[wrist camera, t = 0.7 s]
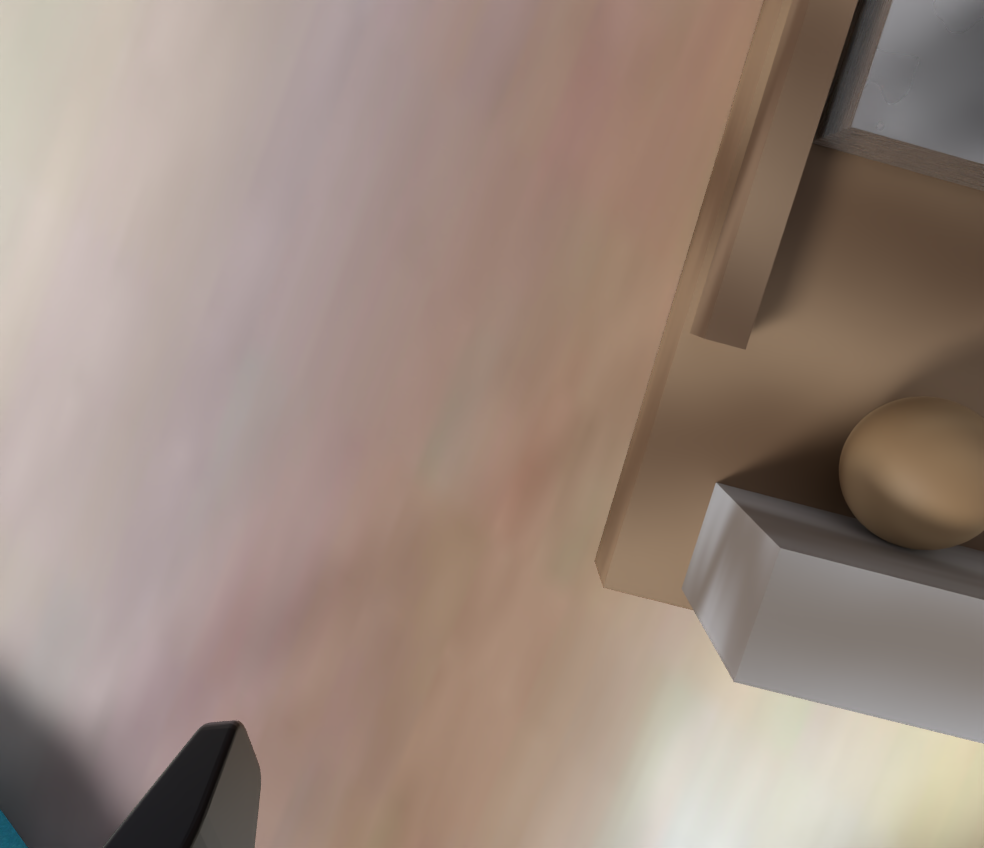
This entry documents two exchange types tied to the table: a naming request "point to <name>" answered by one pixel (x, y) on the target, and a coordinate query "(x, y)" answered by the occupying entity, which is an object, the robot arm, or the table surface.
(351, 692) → the table surface
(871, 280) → the board
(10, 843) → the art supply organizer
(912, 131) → the handle
